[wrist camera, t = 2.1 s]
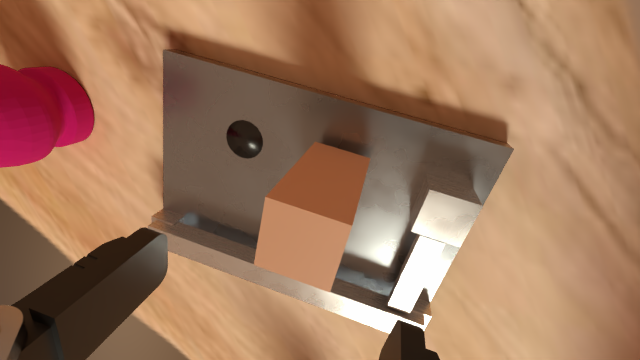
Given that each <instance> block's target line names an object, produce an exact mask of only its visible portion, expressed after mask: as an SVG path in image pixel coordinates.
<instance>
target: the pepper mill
mask: <svg viewBox="0 0 640 360" xmlns="http://www.w3.org/2000/svg"><path fill="white" fill-rule="evenodd" d="M93 125H94V113H93V109H92V106H91V103H90V100H89V98H88V96H87V94H86V93H85V91H84V89H83V88H82V87H81V86H80V84H79V83H78V82H77V81H76V80H75V79H74V78H72V77H71V76H70V75H68V74H67V73H66V72H64V71H62V70H59V69H57V68H54V67H32V68H23V69H20V70H18V71H16V70H14V69H12V68H10V67H7V66H4V65H1V64H0V167H12V166H20V165H24V164H28V163H33V162H36V161H39V160H41V159H43V158H44V157H46V156H47V155H48V154H49V153H50V152H51V151H52V149H53V148H54V147H63V146H67V145H70V144H74V143H77V142H81V141H83V140H85V139H86V138H87V137H88V136H89V135H90V134H91V132H92V130H93Z"/></svg>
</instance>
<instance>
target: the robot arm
mask: <svg viewBox="0 0 640 360" xmlns="http://www.w3.org/2000/svg"><path fill="white" fill-rule="evenodd" d="M167 267H168V239H167V236H166V235H165V234H162V233H159V232H156V231H154V230H151V229H148V228H140V229H139V230H137V231H136V232H134V233H133V234H132V235H130V236H129V237H127V238H125V237H120V238H117V239H115V240H112V241H109V242H107V243H104V244H102V245H101V246H99V247H98V248H96V249H95V250H93V251H92V252H90V253H89V254H88V255H87V257H85V256H84V257H83V258H82V259H80V260H79V261H77V262H76V263H75V264H74V265H73V266H70V267H69V268H67V269H65V270H64V271H62V272H61V273H59V274H58V275H56V276H55V277H54V278H52V279H50V280H49V281H48V282H46V283H45V284H43V285H42V286H40V287H39V288H37V289H36V290H34V291H33V292H31V293H30V294H28V295H27V296H25V297H24V298H23V299H21V300H20V301H18V302H16V303H15V304H13V305H11V306H8V305H0V360H85V359H86V358H88V357H89V356H90V355H91V354H92V353H93V352H94V351H95V349H97V348H98V346H100V345H101V343H103V341H104V340H105V339H106V338H107V337H108V336H109V335H110V334H111V333H112V332H113V331H114V330H115V329H116V328H117V327H118V326H119V325H120V324H121V323H122V322H123V321H124V320H125V319H126V318H127V317H128V316H129V315H130V314H131V313H132V312H133V311H134V310H135V309H136V308H137V307H138V306H139V305H140V304H141V303H142V302H143V301H144V300H145V299H146V298H147V297H148V296H149V295H150V294H151V293H152V292H153V291H154V290H155V289H156V288H157V287H158V286H159V285H160V284H161V282H162V281H163V279H164V277H165V275H166V272H167ZM379 360H440V359H439V357H438V354H437V353H436V352H434V351H431V350H428V349H426V348H425V337H424V330H423V328H422V327H419V326H416V325H413V324H411V323H408V322H405V321H402V320H399V319H398V320H397V321H396V322H395V324H394V326H393V328H392V330H391V332H390V334H389V336H388V338H387V340H386V342H385V344H384V346H383V348H382V350H381V353H380V357H379Z"/></svg>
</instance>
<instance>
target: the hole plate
mask: <svg viewBox="0 0 640 360" xmlns="http://www.w3.org/2000/svg"><path fill="white" fill-rule="evenodd" d="M315 142H318V143H322V144H325V145H328V146H332V147H335V148H338V149H342V150H345V151H348V152H351V153H355V154H358V155H361V156H365V157H368V158H370V162H369V166H368V169H367V173H366V177H365V181H364V184H363V188H362V192H361V195H360V199H359V203H358V207H357V210H356V214H355V218H354V222H353V225H352V228H351V231H350V234H349V237H348V240H347V243H346V246H345V249H344V252H343V255H342V258H341V261H340V264H339V267H338V270H337V273H336V276H335V279H334V282H333V285H332V288H331V291H330V293H329V292H327V291H324V290H321V289H319V288H316V287H313V286H310V285H308V284H305V283H302V282H299V281H297V280H294V279H291V278H288V277H286V276H283V275H280V274H277V273H275V272H272V271H269V270H266V269H264V268H261V267H258V266H255V265H254V260H255V254H256V248H257V242H258V237H259V231H260V225H261V219H262V213H263V207H264V202H265V197H266V196H267V194H268V193H269V192H270V191H271V190H272V189H273V188H274V187H275V186H276V184H277V183H278V182H279V181H280V180H281V179H282V178H283V177H284V176H285V175H286V173H287V172H288V171H289V170H290V169H291V168H292V167H293V166H294V165H295V164H296V162H297V161H298V160H299V159H300V158H301V157H302V156H303V155H304V154H305V152H306V151H307V150H308V149H309V148H310V147H311V146H312V145H313V144H314V143H315ZM513 150H514V149H513V148H512V147H511V146H510V145H509V144H508V143H504V142H501V141H497V140H494V139H490V138H487V137H483V136H479V135H476V134H472V133H469V132H465V131H462V130H458V129H455V128H451V127H448V126H444V125H441V124H437V123H433V122H430V121H426V120H423V119H419V118H416V117H412V116H409V115H405V114H402V113H398V112H395V111H391V110H387V109H384V108H380V107H377V106H373V105H370V104H366V103H363V102H359V101H356V100H352V99H349V98H345V97H341V96H338V95H334V94H331V93H327V92H324V91H320V90H317V89H313V88H310V87H306V86H303V85H299V84H295V83H292V82H288V81H285V80H281V79H278V78H274V77H271V76H267V75H264V74H260V73H257V72H253V71H249V70H246V69H242V68H239V67H235V66H232V65H228V64H225V63H221V62H218V61H214V60H211V59H207V58H203V57H200V56H196V55H193V54H189V53H186V52H182V51H179V50H175V49H174V50H163V209H162V210H160V211H159V212H157V213H156V214H154V215H153V216H152V223H151V224H150V225H148V229H151V230H154V231H156V232H159V233H162V234H165V235H166V236H167V239H168V251H169V252H172V253H175V254H178V255H180V256H183V257H186V258H188V259H191V260H194V261H196V262H199V263H202V264H204V265H207V266H210V267H213V268H215V269H218V270H221V271H223V272H226V273H229V274H231V275H234V276H237V277H239V278H242V279H245V280H248V281H250V282H253V283H256V284H258V285H261V286H264V287H266V288H269V289H272V290H274V291H277V292H280V293H283V294H285V295H288V296H291V297H293V298H296V299H299V300H301V301H304V302H307V303H309V304H312V305H315V306H318V307H320V308H323V309H326V310H328V311H331V312H334V313H336V314H339V315H342V316H344V317H347V318H350V319H353V320H355V321H358V322H361V323H363V324H366V325H369V326H371V327H374V328H377V329H379V330H382V331H385V332H388V333H390V332H391V330H392V328H393V326H394V324H395V322H396V321H397V320H398V319H399V320H402V321H405V322H408V323H411V324H413V325H416V326H419V327H422V328H423V330H424V329H425V327H426V326H427V324H428V322H429V320H430V319H431V308H430V301H431V299H432V298H433V296H434V294H435V292H436V290H437V288H438V287H439V285H440V283H441V281H442V279H443V277H444V276H445V274H446V272H447V270H448V268H449V267H450V265H451V263H452V261H453V259H454V257H455V256H456V254H457V252H458V250H459V248H460V247H461V245H462V243H463V241H464V240H465V238H466V236H467V234H468V232H469V230H470V229H471V227H472V225H473V223H474V221H475V220H476V218H477V216H478V214H479V212H480V210H481V209H482V207H483V205H484V203H485V201H486V199H487V197H488V195H489V194H490V192H491V190H492V188H493V186H494V184H495V183H496V181H497V179H498V177H499V175H500V174H501V172H502V170H503V168H504V166H505V164H506V163H507V161H508V159H509V157H510V155H511V154H512V152H513Z"/></svg>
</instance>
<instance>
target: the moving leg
mask: <svg viewBox="0 0 640 360" xmlns="http://www.w3.org/2000/svg"><path fill="white" fill-rule="evenodd" d="M369 162H370V158H368V157H365V156H361V155H358V154H355V153H351V152H348V151H345V150H342V149H338V148H335V147H332V146H328V145H325V144H322V143H318V142H315V143H314V144H313V145H312V146H311V147H310V148H309V149H308V150H307V151H306V152H305V154H304V155H303V156H302V157H301V158H300V159H299V160H298V161H297V162H296V164H295V165H294V166H293V167H292V168H291V169H290V170H289V171H288V172H287V173H286V175H285V176H284V177H283V178H282V179H281V180H280V181H279V182H278V183H277V184H276V186H275V187H274V188H273V189H272V190H271V191H270V192H269V193H268V194H267V196H266V197H265V202H264V207H263V213H262V219H261V225H260V231H259V237H258V242H257V248H256V254H255V260H254V265H255V266H258V267H261V268H264V269H266V270H269V271H272V272H275V273H277V274H280V275H283V276H286V277H288V278H291V279H294V280H297V281H299V282H302V283H305V284H308V285H310V286H313V287H316V288H319V289H321V290H324V291H327V292H329V293H330V291H331V288H332V285H333V282H334V279H335V276H336V273H337V270H338V267H339V264H340V261H341V258H342V255H343V252H344V249H345V246H346V243H347V240H348V237H349V234H350V231H351V228H352V225H353V222H354V218H355V214H356V210H357V207H358V203H359V199H360V195H361V192H362V188H363V184H364V181H365V177H366V173H367V169H368V166H369Z"/></svg>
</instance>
